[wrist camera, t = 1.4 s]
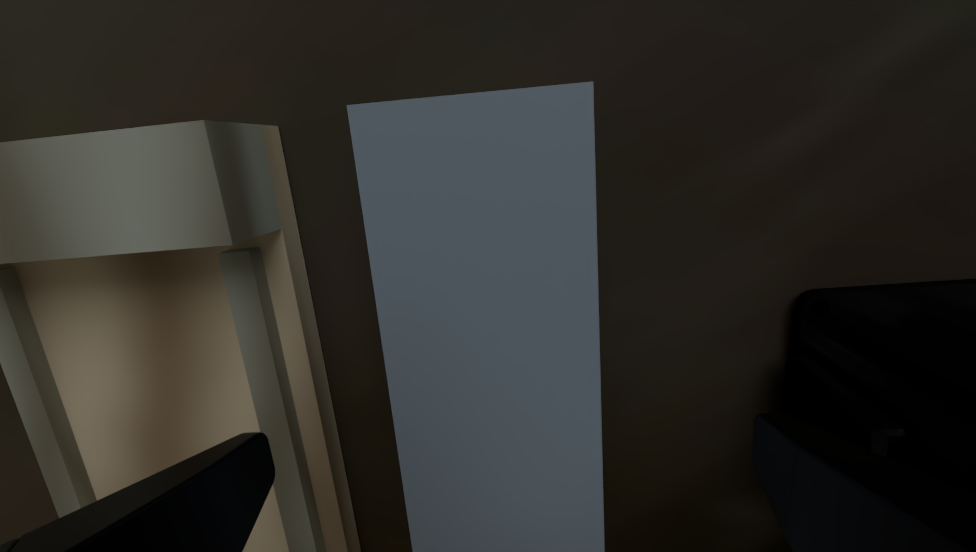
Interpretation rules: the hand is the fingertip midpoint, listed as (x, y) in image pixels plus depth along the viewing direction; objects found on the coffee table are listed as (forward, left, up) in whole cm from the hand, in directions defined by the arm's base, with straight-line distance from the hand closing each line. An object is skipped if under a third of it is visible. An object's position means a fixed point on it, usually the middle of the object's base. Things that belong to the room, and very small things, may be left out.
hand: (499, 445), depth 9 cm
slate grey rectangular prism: (0, 0, -7) cm, 7 cm away
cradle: (+12, +5, -7) cm, 15 cm away
